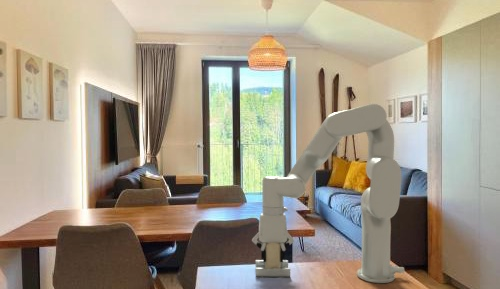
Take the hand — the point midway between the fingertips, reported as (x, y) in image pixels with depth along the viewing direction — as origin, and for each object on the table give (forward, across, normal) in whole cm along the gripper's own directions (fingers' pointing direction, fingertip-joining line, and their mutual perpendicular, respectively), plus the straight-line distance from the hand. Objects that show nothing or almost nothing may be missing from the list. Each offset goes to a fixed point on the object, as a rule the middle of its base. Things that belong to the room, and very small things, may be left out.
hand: (272, 260), depth 136 cm
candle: (+3, 0, 0) cm, 3 cm away
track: (+5, 0, 0) cm, 5 cm away
